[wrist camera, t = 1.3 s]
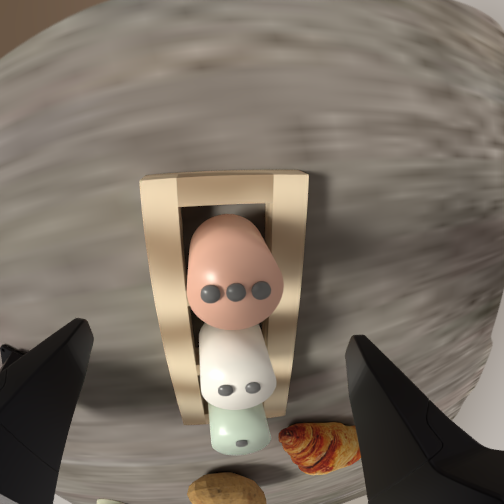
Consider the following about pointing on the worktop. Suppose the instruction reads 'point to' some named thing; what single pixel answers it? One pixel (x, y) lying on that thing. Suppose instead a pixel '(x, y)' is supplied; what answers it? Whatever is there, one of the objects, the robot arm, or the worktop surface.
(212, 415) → the key one
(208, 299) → the key three
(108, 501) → the can
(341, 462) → the croissant
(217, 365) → the key two
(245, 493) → the potato
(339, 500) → the worktop surface
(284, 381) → the board
